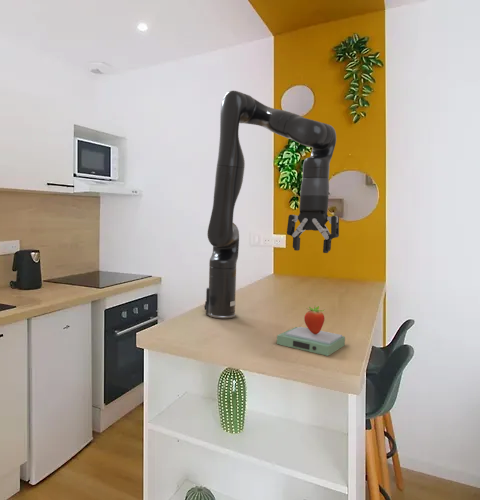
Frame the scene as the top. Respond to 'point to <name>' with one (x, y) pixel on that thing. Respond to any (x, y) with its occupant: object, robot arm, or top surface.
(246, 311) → the top surface
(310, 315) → the fruit
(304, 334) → the scale
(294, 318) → the top surface
